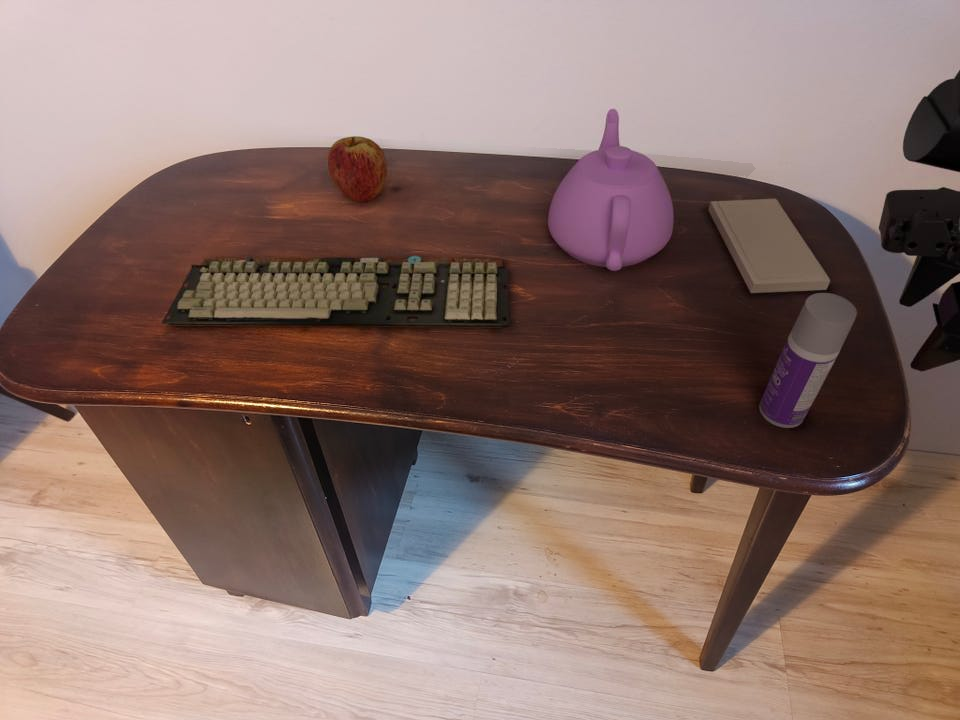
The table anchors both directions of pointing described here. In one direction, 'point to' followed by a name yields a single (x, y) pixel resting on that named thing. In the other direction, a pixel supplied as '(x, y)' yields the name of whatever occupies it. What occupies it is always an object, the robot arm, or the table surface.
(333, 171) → the apple
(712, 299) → the table surface
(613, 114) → the teapot
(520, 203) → the table surface
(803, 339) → the container
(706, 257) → the table surface
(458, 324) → the keyboard
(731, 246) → the tile
